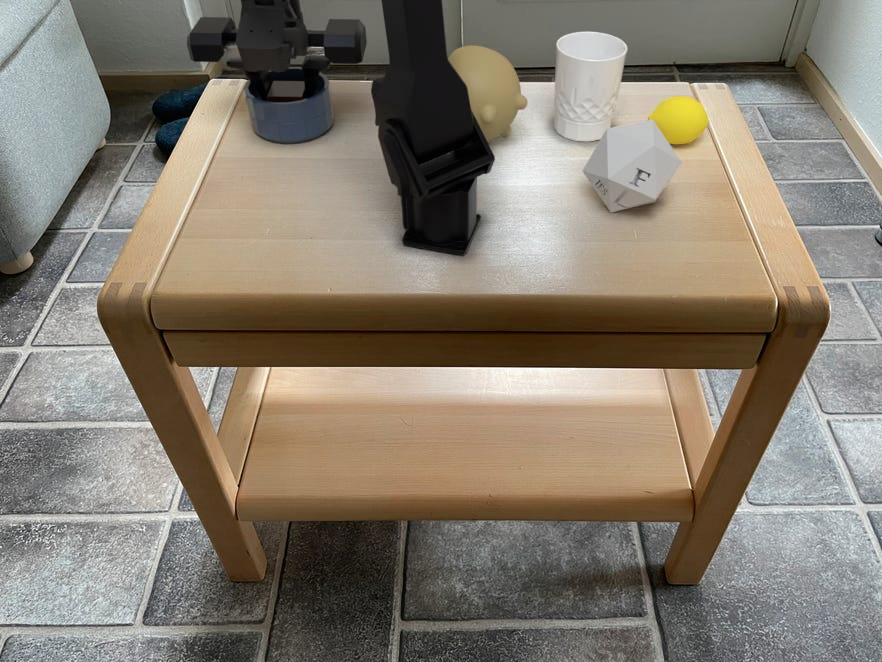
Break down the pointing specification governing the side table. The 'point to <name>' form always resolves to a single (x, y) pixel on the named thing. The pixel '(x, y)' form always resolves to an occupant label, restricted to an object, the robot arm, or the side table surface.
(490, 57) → the toy pig
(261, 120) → the bowl
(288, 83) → the block
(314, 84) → the robot arm
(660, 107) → the lemon
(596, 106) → the white cup
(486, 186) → the side table surface
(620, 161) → the die
